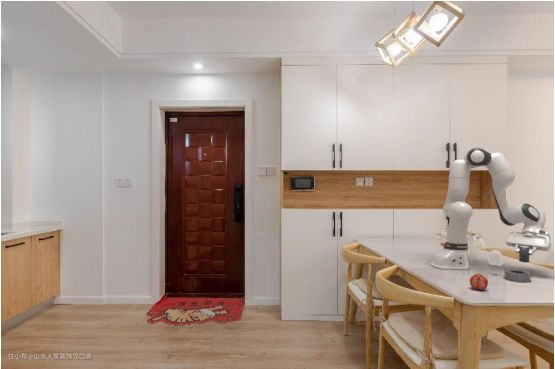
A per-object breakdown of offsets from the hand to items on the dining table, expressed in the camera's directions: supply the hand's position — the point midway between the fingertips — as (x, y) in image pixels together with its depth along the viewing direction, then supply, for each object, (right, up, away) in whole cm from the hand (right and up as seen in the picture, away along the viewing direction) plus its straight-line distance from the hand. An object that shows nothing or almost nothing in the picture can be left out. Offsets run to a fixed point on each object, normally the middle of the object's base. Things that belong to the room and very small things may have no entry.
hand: (524, 253), depth 194 cm
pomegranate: (-38, -12, -24) cm, 47 cm away
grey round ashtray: (-8, -12, -6) cm, 16 cm away
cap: (0, -4, 0) cm, 4 cm away
